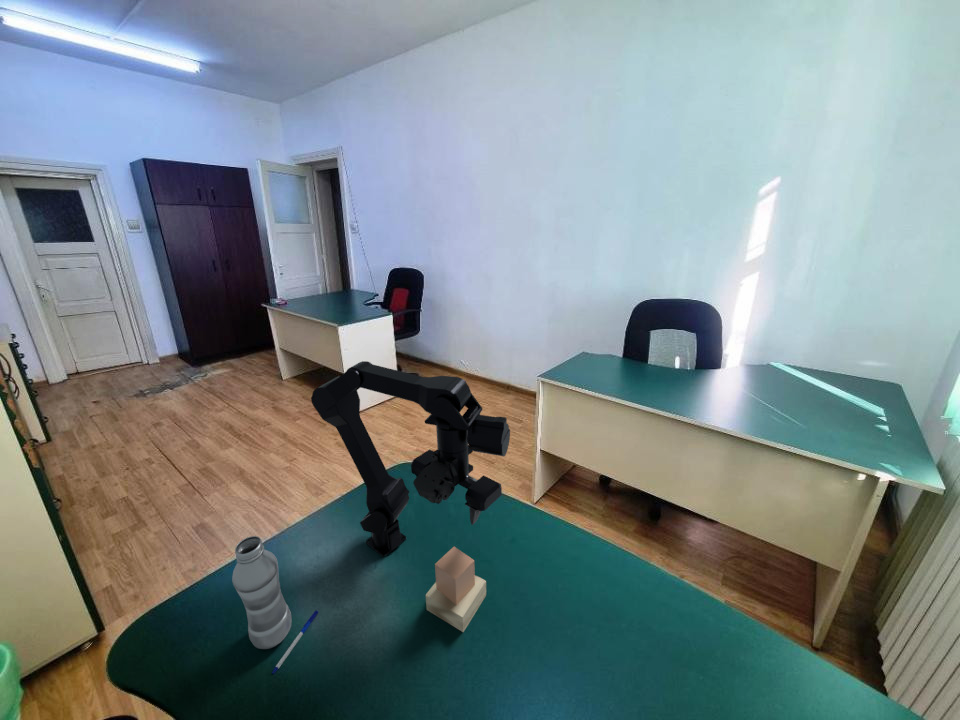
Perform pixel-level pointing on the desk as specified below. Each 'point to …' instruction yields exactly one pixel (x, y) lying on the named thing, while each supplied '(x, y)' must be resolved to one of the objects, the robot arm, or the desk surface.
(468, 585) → the terracotta block
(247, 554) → the plastic bottle
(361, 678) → the desk surface
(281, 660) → the ballpoint pen
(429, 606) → the beech block
